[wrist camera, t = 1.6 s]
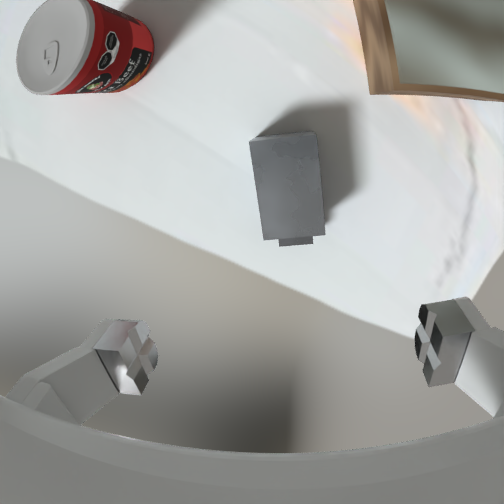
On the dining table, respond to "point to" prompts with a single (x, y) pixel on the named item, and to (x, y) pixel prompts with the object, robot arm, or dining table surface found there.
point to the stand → (434, 47)
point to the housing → (288, 187)
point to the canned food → (82, 49)
